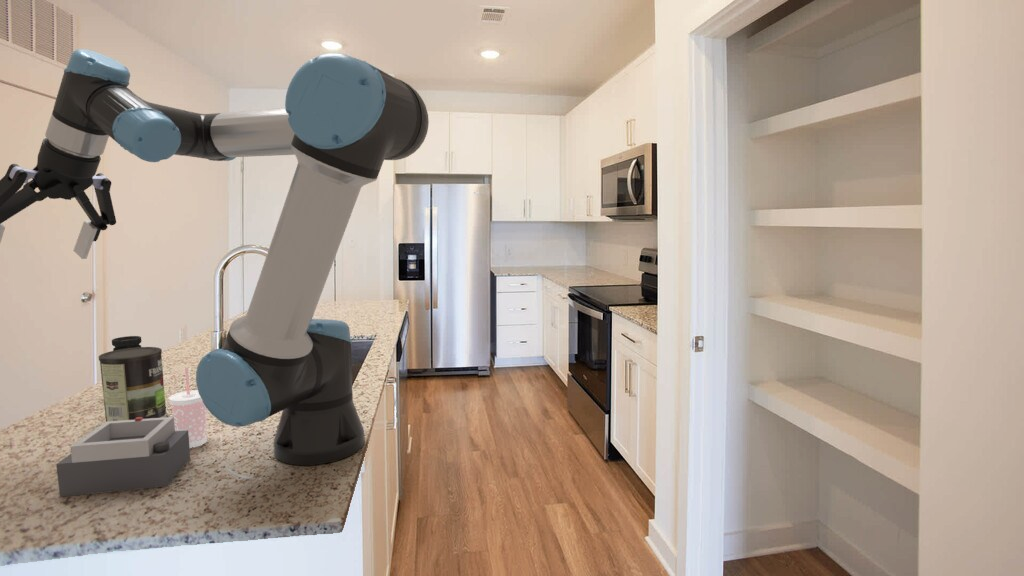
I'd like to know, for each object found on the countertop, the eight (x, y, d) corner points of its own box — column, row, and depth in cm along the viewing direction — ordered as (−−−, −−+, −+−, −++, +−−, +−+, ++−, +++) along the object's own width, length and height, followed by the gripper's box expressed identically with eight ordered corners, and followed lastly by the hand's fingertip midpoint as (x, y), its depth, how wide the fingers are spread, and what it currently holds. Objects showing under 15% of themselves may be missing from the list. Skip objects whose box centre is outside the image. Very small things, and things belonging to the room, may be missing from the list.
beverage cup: (168, 443, 98) (161, 368, 96) (205, 433, 102) (200, 361, 100) (177, 453, 93) (171, 374, 92) (216, 442, 98) (210, 367, 96)
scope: (109, 345, 114) (99, 338, 121) (115, 408, 116) (105, 398, 122) (154, 339, 120) (142, 333, 127) (159, 399, 121) (147, 390, 128)
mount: (190, 458, 91) (186, 413, 90) (166, 486, 82) (162, 436, 81) (96, 466, 88) (91, 420, 87) (59, 496, 79) (54, 445, 78)
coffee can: (173, 409, 115) (168, 344, 114) (158, 426, 106) (152, 356, 104) (117, 414, 112) (110, 348, 111) (95, 432, 103) (88, 360, 101)
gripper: (136, 147, 100) (100, 243, 105) (-40, 118, 76) (-74, 243, 82) (161, 168, 98) (123, 264, 103) (-11, 145, 74) (-48, 271, 80)
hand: (36, 255), depth 93 cm, fingers open, 13 cm apart
